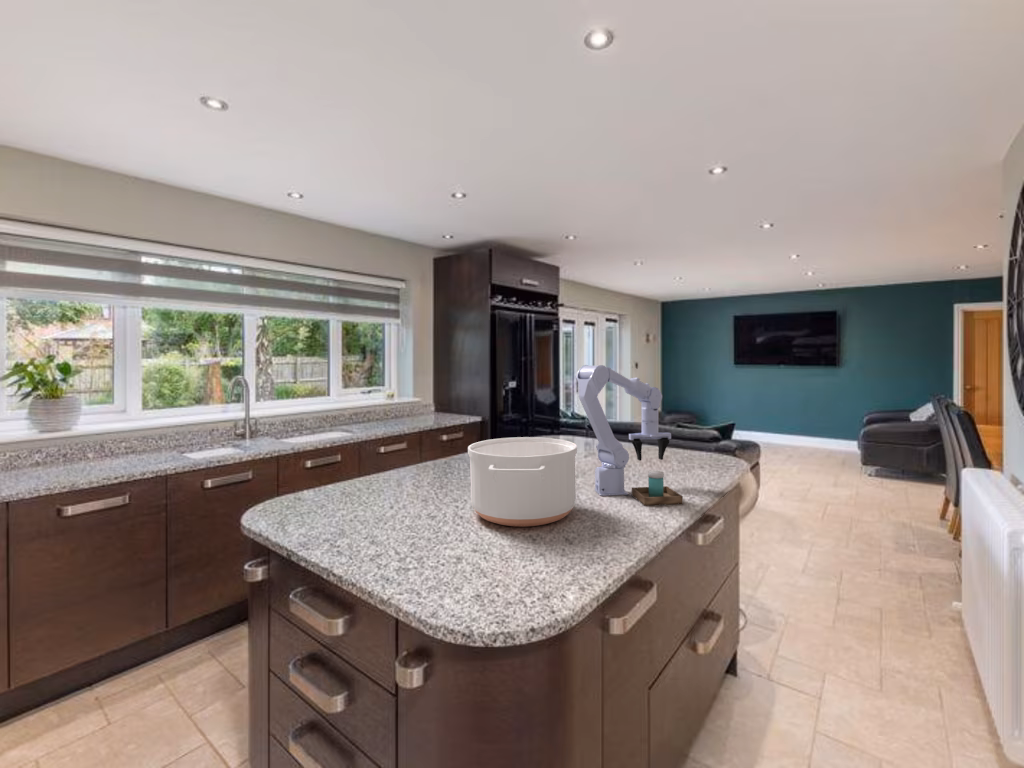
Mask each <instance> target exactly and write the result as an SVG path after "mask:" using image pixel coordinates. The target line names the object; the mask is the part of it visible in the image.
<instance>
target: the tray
mask: <svg viewBox="0 0 1024 768" xmlns="http://www.w3.org/2000/svg"><path fill="white" fill-rule="evenodd" d="M631 496H632V497H633V498H634V499H636V500H637V501H638V502H639V503H640V504H642V505H643V506H644V507H650V506H653V507H655V506H670V505H671V506H673V505H675V506H677V505H684V504H683V502H684V501H683V499H684V498H683V495H681V494H680V493H678V492H677V491H675V490H673V488H670V487H669V486H667V485H664V497H649V486H641V487H640V486H639V487H637V486H636V487H631Z"/></svg>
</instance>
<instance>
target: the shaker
mask: <svg viewBox="0 0 1024 768" xmlns="http://www.w3.org/2000/svg"><path fill="white" fill-rule="evenodd" d="M664 474H665V472H664V471H660V470H650V471H648V472H647V477H648V487H649V497H664V486H665V484H664V482H665V481H664V478H665V477H664Z"/></svg>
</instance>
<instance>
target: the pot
mask: <svg viewBox="0 0 1024 768" xmlns="http://www.w3.org/2000/svg"><path fill="white" fill-rule="evenodd" d="M577 453H578V445H577V444H576V443H574V442H572V441H569V440H566V439H560V438H551V437H535V436H534V437H533V436H530V437H529V436H523V437H521V436H517V437H501V438H493V439H492V438H491V439H486V440H485V439H484V440H481V441H478V442H477V441H476V442H474V443H471V444H470V445H468V446H467V455H468V456H469V466H470V467H469V468H470V469H469V470H470V471H469V472H470V473H469V474H470V475H469V476H470V502H471V507H472V509H473V510H474V511H475V513H476V514H477V515H478V516H479V517H481V518H482V519H484V520H485V521H488V522H491V523H494V524H497V525H502V526H508V527H520V528H521V527H538V526H544V525H547V524H552V523H555V522H558V521H560V520H562V519H564V518H565V517H566V516H567V515H569V514H570V513H571V512H572V510H573V508H575V504H576V499H577V498H576V492H577V491H576V454H577Z"/></svg>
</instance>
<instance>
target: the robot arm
mask: <svg viewBox="0 0 1024 768" xmlns="http://www.w3.org/2000/svg"><path fill="white" fill-rule="evenodd" d="M575 379H576V381H577V383H578V385H577V387H578V388H577V389H578V398H579V400H580V403H581V405H582V408H583V410H584V412H585V415H586V417H587V419H588V422H589V423H590V426H591V428H592V430H593V432H594V435H595V437H596V439H597V442H598V443H597V444H596V451H597V458H598V460H599V461H600V463H601V466H596V467H595V469H594V470H595V471H594V491H595V492H596V493H597V494H599V496H602V497H603V496H605V497H606V496H627V495H629V492H628V491H626V489H625V468H626V465H628V462H629V460H630V454H629V451H628V450H627V449H625V447H624V446H623V444H622V443H621V442H620V441H619V440H618V439H617V438H616V437H615V435H614V433H613V430H612V428H611V426H610V423H609V422H608V420H607V419H608V418H607V417H606V414H605V412H604V410H603V407H602V405H601V403H600V400H599V398H598V395H599V394H600V392H601V391H602V390H603V388H604V387H605V386H606V384H607V383H611V384H613V385H617V386H619V387H621V388H623V389H624V392H625V393H626V394H628V395H629V396H631V397H634V398H636V399H637V400H638V401H639V403H641V405H640V406H641V432H635V433H628V440H630V441H631V443H632V445H633V447H634V450H635V454H636V458H637V460H638V461H642V459H643V457H642V456H643V455H642V448H643V447H642V446H643V441H642V440H657V446H658V455H657V456H658V459H659V460H661V461H662V460H664V456H665V452H666V449H667V447H668V445H669V443H670V440H671V439H672V433H671V432H659V408H660V406H661V405H660V404H661V401H662V399H663V394H662V392H661V390H660V389H659V388H658V387H655V386H650V383H648V382H646V383H645V382H642V381H641V379H640V378H639V377H631V378H627V377H626V376H624V375H623V374H621V373H619V372H617V371H615V370H614V369H612V368H611V367H608V366H605V365H603V364H600V365H587V364H584V365H581V367H579V369H578V371H577V373H576V376H575Z"/></svg>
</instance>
